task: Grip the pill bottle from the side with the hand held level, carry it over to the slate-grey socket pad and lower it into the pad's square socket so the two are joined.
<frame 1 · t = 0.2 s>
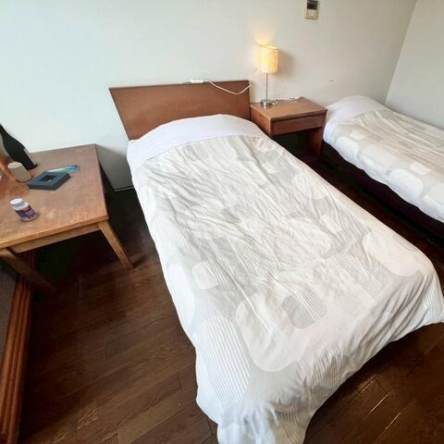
socket pad: (51, 182, 136), on the table
smartphone: (62, 172, 145), on the table
pill bottle: (30, 217, 116), on the table
wine bottle: (29, 167, 145), on the table
candle: (25, 179, 137), on the table
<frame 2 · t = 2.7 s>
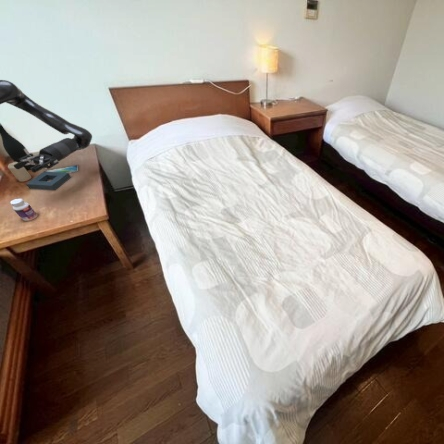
hand: (23, 169, 110), 20 cm above the table, tool horizontal, fingers open, 8 cm apart
nothing on the table moved.
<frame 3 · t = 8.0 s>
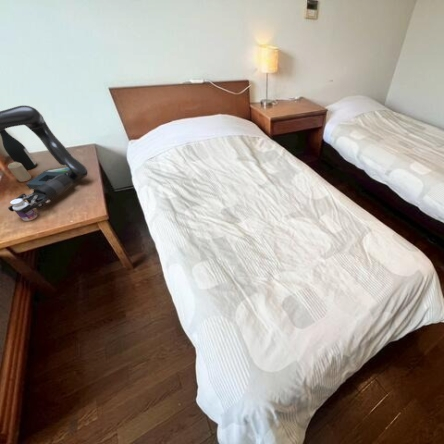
hand: (16, 211, 110), 6 cm above the table, tool horizontal, fingers closed on pill bottle, 5 cm apart
pill bottle: (30, 217, 116), on the table, touching gripper
everything else where it was.
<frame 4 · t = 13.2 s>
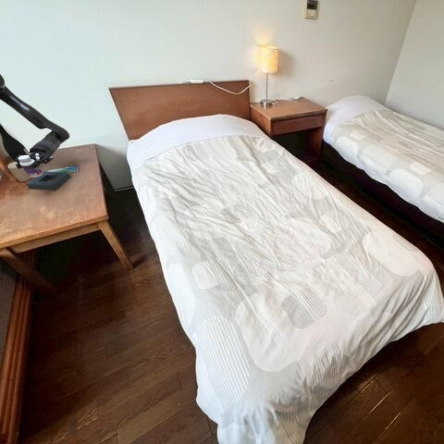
hand: (25, 166, 116), 17 cm above the table, tool horizontal, fingers closed on pill bottle, 5 cm apart
pill bottle: (36, 175, 122), point 11 cm above the table, touching gripper
everything else where it was.
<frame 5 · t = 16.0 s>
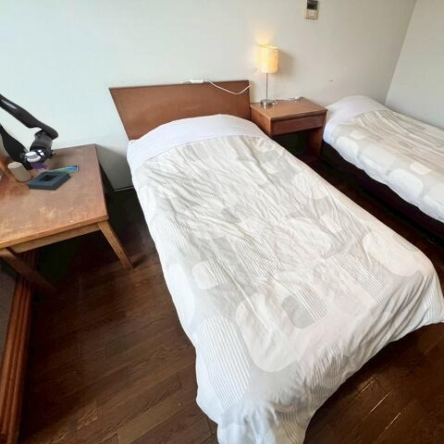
hand: (34, 162, 125), 14 cm above the table, tool horizontal, fingers closed on pill bottle, 5 cm apart
pill bottle: (42, 170, 131), point 8 cm above the table, touching gripper
everything else where it was.
when the fingers open (6 cm above the table, at t = 18.8 s): pill bottle stays where it is, resting in socket pad.
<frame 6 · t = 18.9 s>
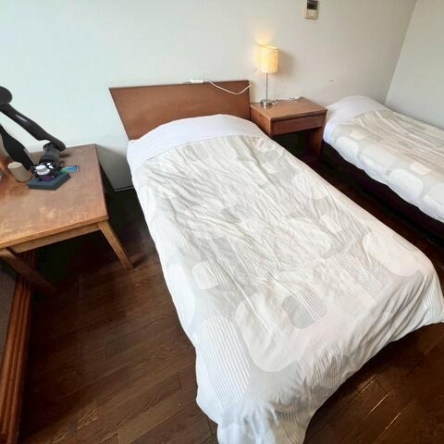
hand: (43, 175, 130), 6 cm above the table, tool horizontal, fingers open, 5 cm apart
pill bottle: (51, 182, 136), resting in socket pad
wine bottle: (29, 167, 145), on the table, touching arm
everything else where it was.
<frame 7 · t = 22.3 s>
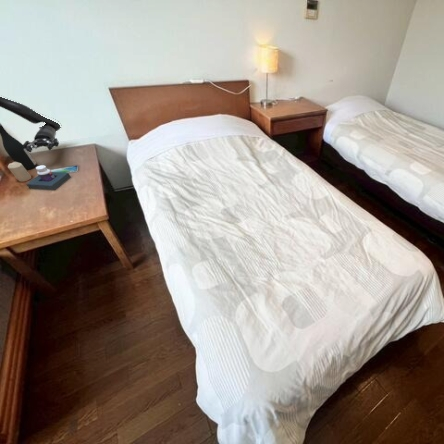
hand: (38, 149, 133), 15 cm above the table, tool horizontal, fingers open, 8 cm apart
pill bottle: (51, 182, 136), resting in socket pad
wine bottle: (29, 167, 145), on the table
everything else where it was.
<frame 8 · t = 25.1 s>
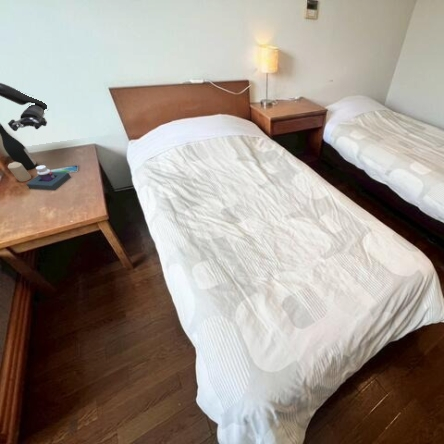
hand: (24, 128, 126), 26 cm above the table, tool horizontal, fingers open, 8 cm apart
nothing on the table moved.
at the end: pill bottle 0.2 cm off-centre in the socket pad, point 0.0 cm above the socket pad's base; pill bottle tilted 0°; the gripper is holding nothing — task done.
